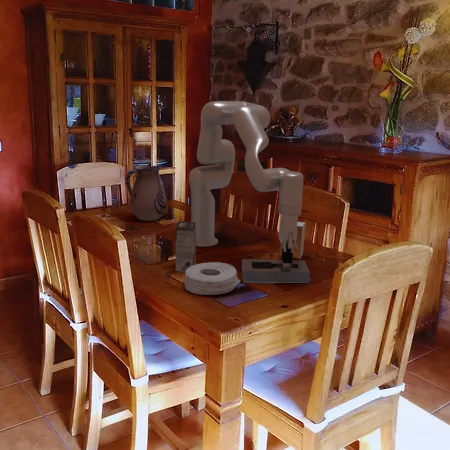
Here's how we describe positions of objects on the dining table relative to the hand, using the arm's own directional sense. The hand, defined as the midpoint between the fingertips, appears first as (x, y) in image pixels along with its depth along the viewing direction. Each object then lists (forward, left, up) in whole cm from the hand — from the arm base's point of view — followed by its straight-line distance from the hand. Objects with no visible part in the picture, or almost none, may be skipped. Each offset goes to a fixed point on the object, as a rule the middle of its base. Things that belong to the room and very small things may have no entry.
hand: (286, 261), depth 180 cm
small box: (+5, +24, -6) cm, 25 cm away
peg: (0, 0, -5) cm, 5 cm away
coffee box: (-35, +7, -6) cm, 36 cm away
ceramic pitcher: (-58, +73, -6) cm, 93 cm away
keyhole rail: (-4, 0, -6) cm, 7 cm away
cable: (-26, -10, -6) cm, 28 cm away
